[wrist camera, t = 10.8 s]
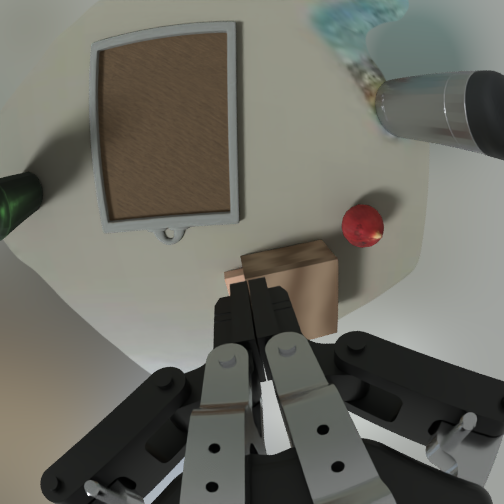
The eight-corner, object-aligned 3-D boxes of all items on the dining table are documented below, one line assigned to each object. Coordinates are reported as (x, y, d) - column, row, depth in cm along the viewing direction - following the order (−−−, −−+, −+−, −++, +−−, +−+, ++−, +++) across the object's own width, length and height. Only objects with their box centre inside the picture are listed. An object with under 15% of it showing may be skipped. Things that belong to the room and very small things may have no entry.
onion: (348, 242, 40) (372, 267, 33) (326, 218, 38) (349, 239, 31) (374, 216, 39) (403, 236, 32) (353, 190, 37) (382, 206, 30)
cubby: (321, 239, 39) (338, 259, 34) (324, 308, 45) (337, 332, 39) (240, 256, 39) (244, 279, 33) (254, 323, 45) (260, 350, 39)
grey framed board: (236, 20, 24) (240, 242, 37) (235, 24, 26) (239, 238, 39) (91, 42, 22) (106, 251, 35) (95, 45, 24) (110, 246, 37)
